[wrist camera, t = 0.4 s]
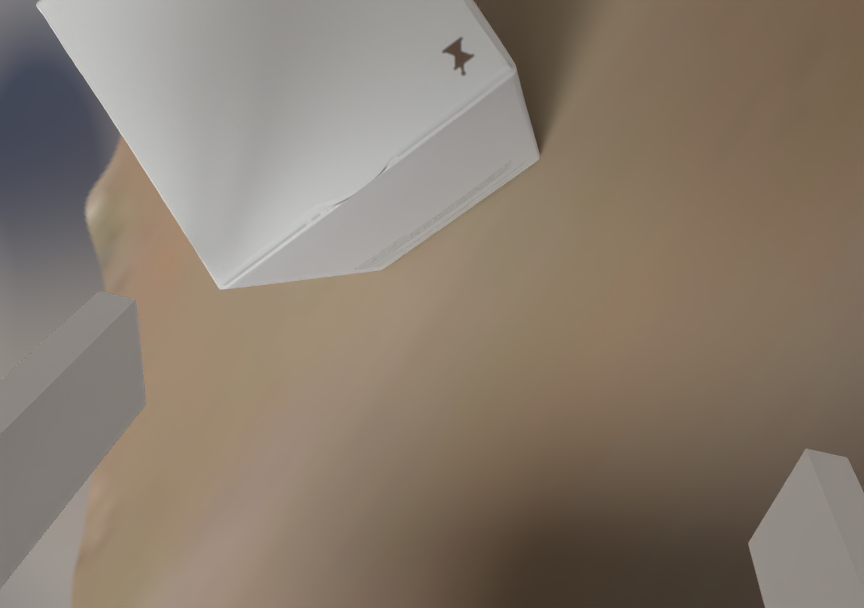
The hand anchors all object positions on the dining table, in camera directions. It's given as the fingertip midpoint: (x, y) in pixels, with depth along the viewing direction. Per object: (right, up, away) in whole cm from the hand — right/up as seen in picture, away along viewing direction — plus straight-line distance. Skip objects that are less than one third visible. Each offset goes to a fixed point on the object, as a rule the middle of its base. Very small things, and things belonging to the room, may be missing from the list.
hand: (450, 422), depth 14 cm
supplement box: (-2, +10, +17) cm, 20 cm away
